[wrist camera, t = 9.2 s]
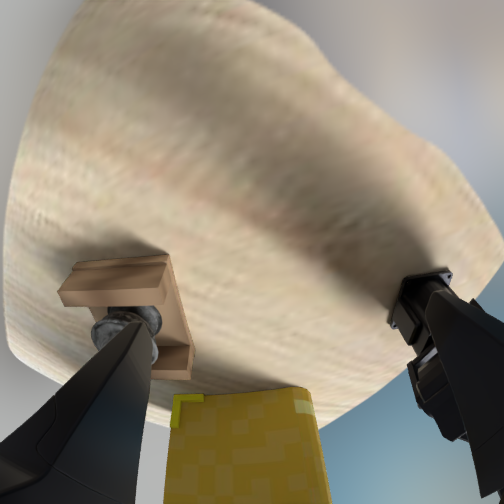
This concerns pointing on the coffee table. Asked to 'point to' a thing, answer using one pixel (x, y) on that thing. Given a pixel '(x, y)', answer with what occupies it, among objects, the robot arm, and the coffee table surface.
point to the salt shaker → (120, 318)
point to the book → (245, 449)
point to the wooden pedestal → (137, 303)
